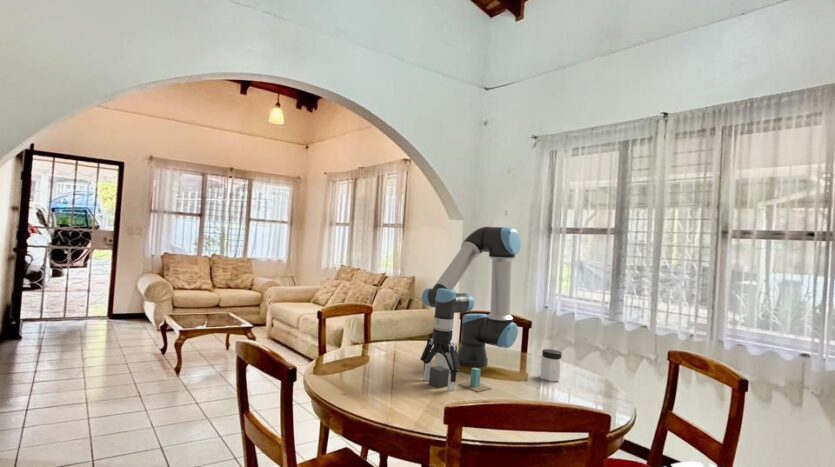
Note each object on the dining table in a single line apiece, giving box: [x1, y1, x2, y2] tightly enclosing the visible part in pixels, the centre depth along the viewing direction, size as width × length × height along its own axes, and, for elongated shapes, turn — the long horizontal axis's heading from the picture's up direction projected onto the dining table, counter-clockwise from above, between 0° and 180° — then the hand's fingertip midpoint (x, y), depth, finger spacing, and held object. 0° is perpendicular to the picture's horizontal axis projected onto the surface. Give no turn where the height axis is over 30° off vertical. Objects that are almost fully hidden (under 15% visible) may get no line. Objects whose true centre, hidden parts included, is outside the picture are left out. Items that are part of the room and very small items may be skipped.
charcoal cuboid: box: [428, 365, 449, 389], centre depth 172 cm, size 5×5×7 cm
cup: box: [434, 341, 457, 372], centre depth 193 cm, size 9×9×12 cm
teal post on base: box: [458, 367, 492, 393], centre depth 174 cm, size 10×8×7 cm
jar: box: [539, 348, 562, 382], centre depth 196 cm, size 9×8×12 cm
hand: (438, 385), depth 172 cm, fingers open, 12 cm apart
